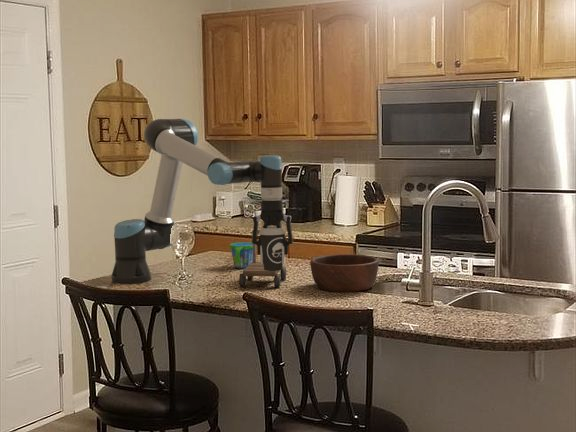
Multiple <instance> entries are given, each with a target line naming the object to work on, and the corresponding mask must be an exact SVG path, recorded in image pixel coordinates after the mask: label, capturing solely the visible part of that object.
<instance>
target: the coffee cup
mask: <svg viewBox="0 0 576 432" xmlns="http://www.w3.org/2000/svg"><path fill="white" fill-rule="evenodd" d="M259 230H260V232H259V234H258V235H259V237H261V246H262V254H263V264H264V270H266V271H278V270H280V271H281V270H282V265H283V266H284V264H282V246H284V244H283V234H285V235H286V234H287V231H286V230H285V229H284V226H282V227H281V228H277V227H276V226H273V225H271V226H268V227H267V228H263V226H262V227H260V229H259Z"/></svg>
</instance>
